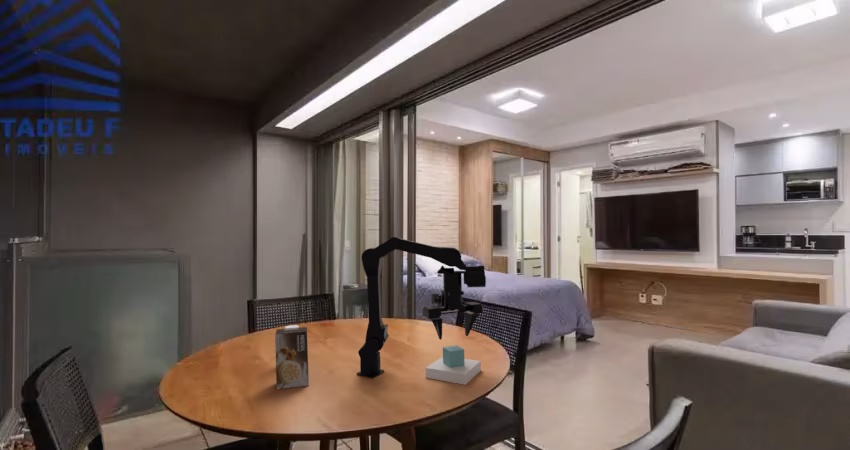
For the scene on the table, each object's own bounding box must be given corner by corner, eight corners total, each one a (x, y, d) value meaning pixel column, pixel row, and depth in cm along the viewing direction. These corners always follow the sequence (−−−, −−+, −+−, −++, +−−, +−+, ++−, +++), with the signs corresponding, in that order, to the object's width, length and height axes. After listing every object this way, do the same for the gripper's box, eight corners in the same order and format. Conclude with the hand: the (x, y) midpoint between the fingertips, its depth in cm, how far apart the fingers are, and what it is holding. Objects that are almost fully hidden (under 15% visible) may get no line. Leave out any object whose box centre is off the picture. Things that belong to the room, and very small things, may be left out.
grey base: (465, 384, 115) (465, 374, 115) (425, 377, 121) (425, 367, 121) (480, 370, 126) (480, 361, 126) (444, 364, 132) (443, 355, 132)
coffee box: (309, 378, 122) (308, 326, 122) (308, 386, 116) (308, 331, 116) (277, 382, 119) (276, 328, 120) (275, 390, 113) (274, 333, 113)
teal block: (449, 368, 120) (449, 351, 120) (443, 363, 125) (442, 347, 125) (464, 365, 122) (464, 349, 122) (457, 360, 127) (456, 345, 127)
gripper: (466, 282, 135) (467, 328, 135) (415, 286, 128) (416, 335, 128) (483, 286, 124) (484, 336, 124) (428, 291, 118) (430, 343, 117)
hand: (453, 337), depth 124 cm, fingers open, 9 cm apart
